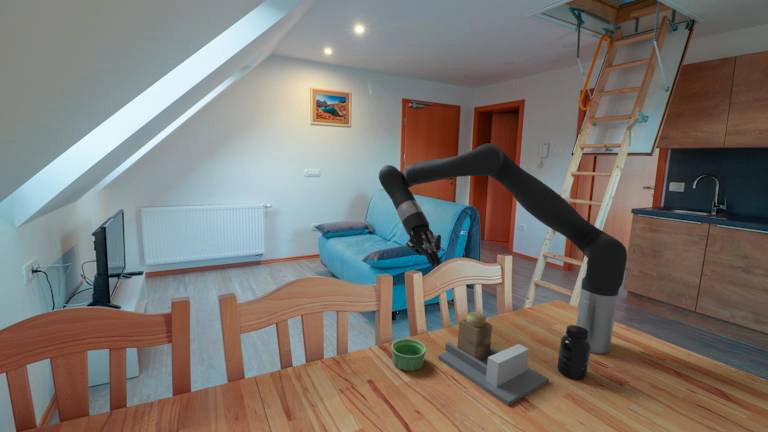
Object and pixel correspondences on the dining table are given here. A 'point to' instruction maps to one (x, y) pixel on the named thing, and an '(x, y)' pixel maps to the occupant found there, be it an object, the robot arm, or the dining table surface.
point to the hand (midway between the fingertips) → (436, 265)
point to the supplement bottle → (574, 353)
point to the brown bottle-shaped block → (475, 335)
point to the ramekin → (408, 354)
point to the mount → (497, 371)
